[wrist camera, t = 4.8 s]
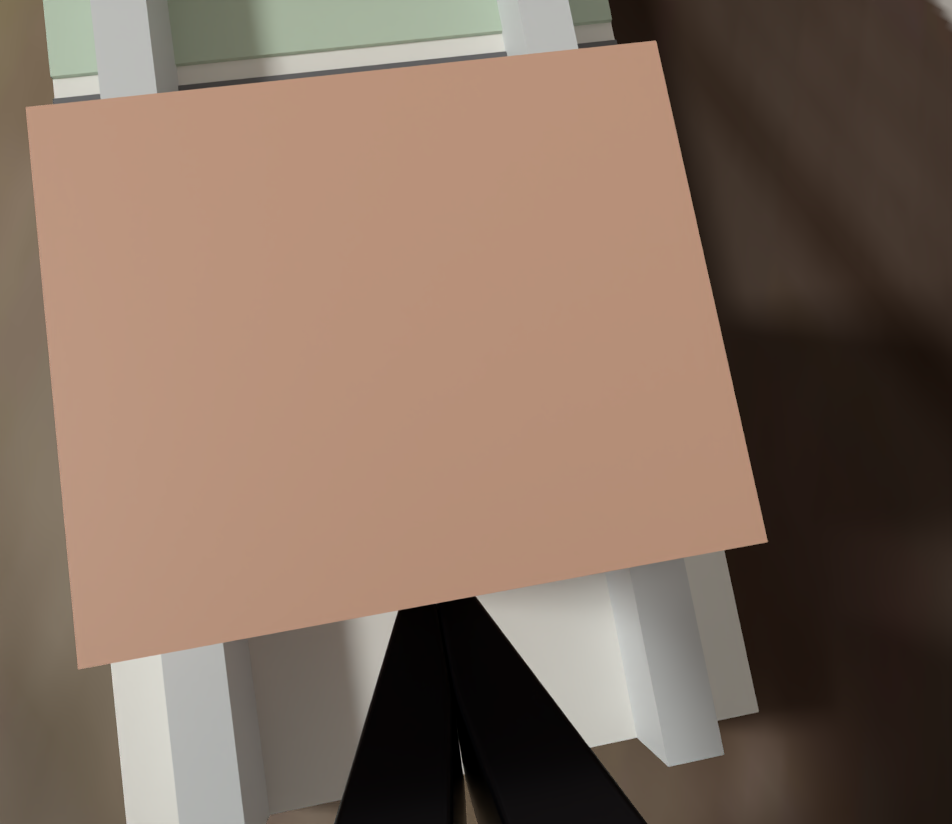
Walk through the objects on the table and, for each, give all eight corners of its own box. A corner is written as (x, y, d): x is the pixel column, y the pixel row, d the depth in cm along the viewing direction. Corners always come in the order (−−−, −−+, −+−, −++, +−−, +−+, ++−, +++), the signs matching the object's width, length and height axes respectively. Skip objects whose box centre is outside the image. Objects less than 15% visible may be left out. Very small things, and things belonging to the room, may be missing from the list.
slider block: (576, 535, 15) (767, 542, 7) (265, 590, 14) (77, 670, 6) (530, 291, 15) (656, 40, 7) (233, 333, 15) (26, 106, 7)
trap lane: (737, 700, 16) (992, 834, 9) (148, 822, 14) (-93, 1092, 8) (551, -177, 19) (634, -590, 12) (48, -140, 17) (-191, -582, 10)
